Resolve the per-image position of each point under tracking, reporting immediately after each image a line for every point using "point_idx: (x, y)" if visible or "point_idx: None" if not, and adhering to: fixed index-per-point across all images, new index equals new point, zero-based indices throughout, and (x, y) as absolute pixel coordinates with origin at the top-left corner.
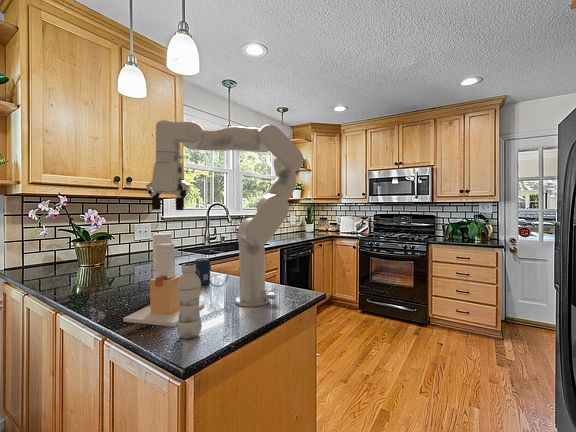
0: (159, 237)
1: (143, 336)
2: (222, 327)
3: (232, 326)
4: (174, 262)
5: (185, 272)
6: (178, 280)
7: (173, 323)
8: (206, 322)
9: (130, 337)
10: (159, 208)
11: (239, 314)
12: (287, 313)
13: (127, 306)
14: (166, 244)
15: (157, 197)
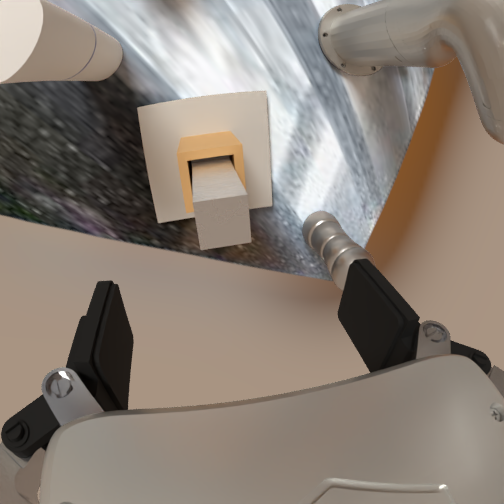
0: (23, 71)
1: (245, 248)
2: (350, 179)
3: (363, 171)
4: (235, 172)
5: None
6: (341, 287)
7: (269, 205)
8: (315, 168)
9: (228, 257)
10: (118, 293)
11: (356, 116)
12: (425, 98)
13: (86, 156)
14: (235, 229)
15: (104, 394)
